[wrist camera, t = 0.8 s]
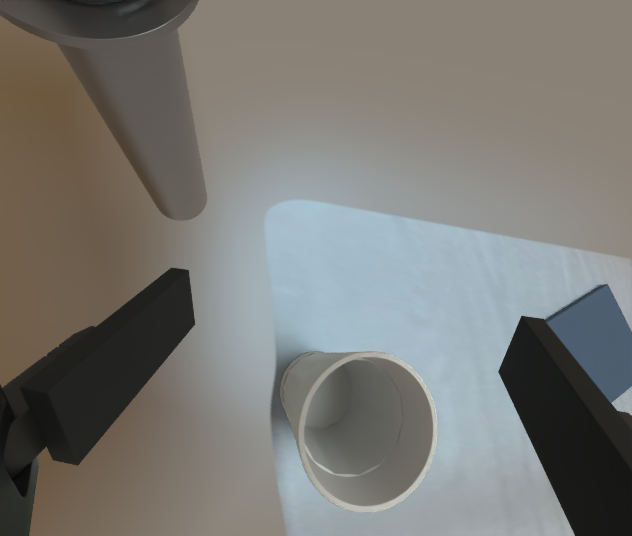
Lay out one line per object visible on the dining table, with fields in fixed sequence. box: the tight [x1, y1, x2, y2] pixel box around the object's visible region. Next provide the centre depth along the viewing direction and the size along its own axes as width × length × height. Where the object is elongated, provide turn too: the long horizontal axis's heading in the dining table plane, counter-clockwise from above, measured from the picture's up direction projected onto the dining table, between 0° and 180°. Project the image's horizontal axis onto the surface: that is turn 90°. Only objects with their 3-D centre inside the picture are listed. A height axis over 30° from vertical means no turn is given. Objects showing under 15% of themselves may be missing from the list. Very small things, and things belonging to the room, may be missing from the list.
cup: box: [280, 351, 438, 513], centre depth 23 cm, size 8×8×12 cm
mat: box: [545, 284, 632, 403], centre depth 37 cm, size 11×11×1 cm
